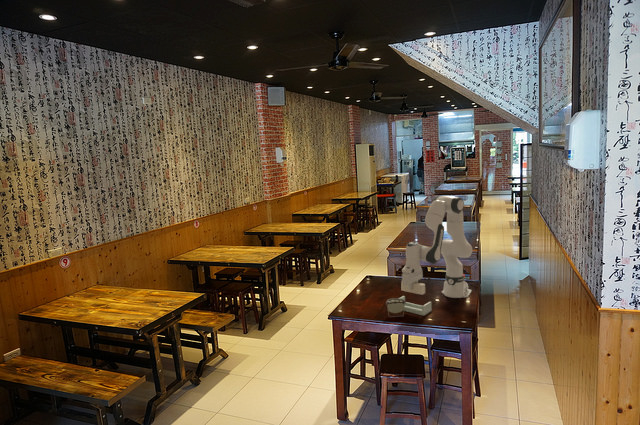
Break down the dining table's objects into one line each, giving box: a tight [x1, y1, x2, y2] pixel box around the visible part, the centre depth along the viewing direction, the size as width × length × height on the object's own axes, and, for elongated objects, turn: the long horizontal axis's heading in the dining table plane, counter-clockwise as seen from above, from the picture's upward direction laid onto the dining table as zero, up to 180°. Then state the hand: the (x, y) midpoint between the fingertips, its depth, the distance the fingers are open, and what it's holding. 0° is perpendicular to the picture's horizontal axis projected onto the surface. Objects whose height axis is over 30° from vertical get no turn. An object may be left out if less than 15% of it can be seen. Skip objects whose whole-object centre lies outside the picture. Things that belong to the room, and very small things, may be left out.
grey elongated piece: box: [398, 295, 432, 316], centre depth 276 cm, size 10×20×6 cm, turn 49°
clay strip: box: [400, 280, 426, 295], centre depth 274 cm, size 4×15×6 cm, turn 49°
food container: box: [385, 297, 407, 318], centre depth 269 cm, size 12×6×10 cm, turn 92°
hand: (412, 288), depth 274 cm, fingers closed on clay strip, 4 cm apart
